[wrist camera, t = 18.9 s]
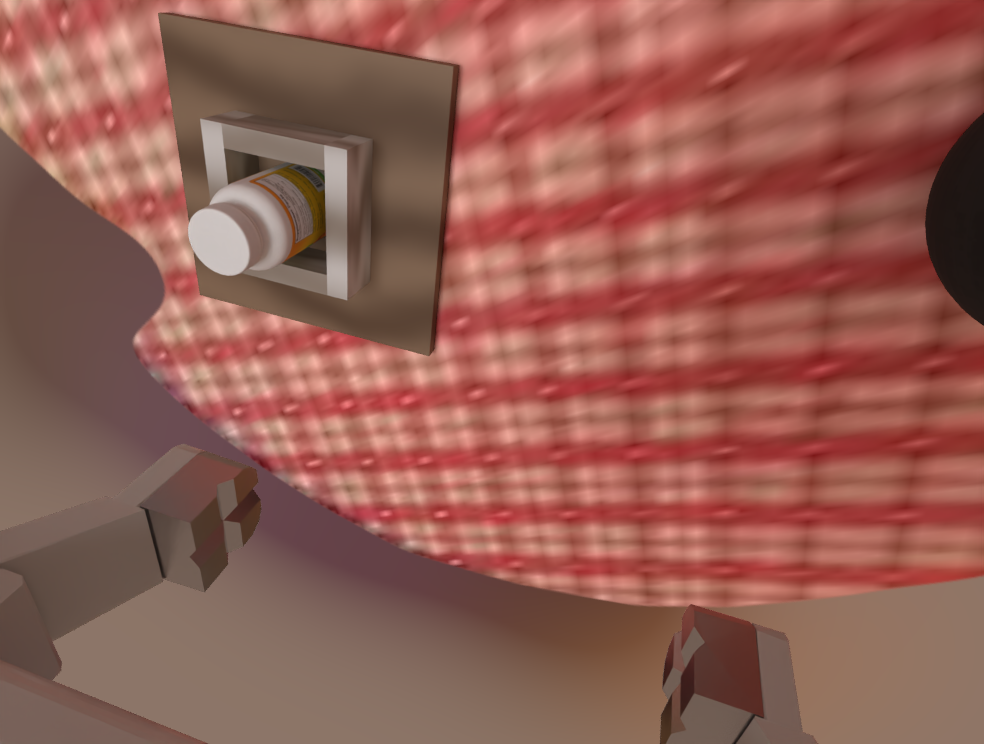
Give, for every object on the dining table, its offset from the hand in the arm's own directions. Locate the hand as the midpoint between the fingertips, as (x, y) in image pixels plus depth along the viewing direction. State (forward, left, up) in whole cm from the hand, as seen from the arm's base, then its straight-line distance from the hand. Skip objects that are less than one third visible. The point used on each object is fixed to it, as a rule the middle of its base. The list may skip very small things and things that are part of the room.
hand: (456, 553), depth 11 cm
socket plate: (+6, -21, -31) cm, 38 cm away
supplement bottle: (+6, -21, -30) cm, 37 cm away
